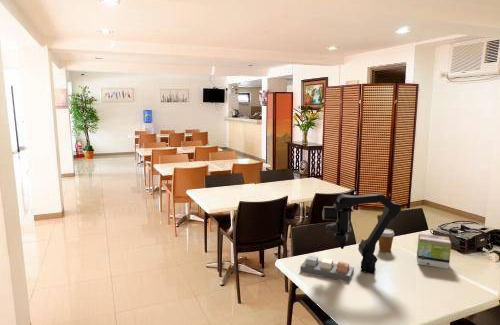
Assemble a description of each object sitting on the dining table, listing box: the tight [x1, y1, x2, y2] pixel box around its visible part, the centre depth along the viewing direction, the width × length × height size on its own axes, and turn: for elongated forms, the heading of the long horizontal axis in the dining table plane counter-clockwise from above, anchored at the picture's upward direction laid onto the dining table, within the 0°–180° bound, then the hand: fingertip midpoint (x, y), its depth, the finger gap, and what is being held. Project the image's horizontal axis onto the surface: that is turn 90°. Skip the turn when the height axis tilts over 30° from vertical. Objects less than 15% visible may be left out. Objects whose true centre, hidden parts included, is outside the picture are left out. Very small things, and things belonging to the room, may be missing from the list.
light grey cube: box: [305, 255, 319, 267], centre depth 184 cm, size 5×5×5 cm
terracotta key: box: [336, 260, 350, 273], centre depth 176 cm, size 5×5×5 cm
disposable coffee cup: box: [378, 228, 395, 253], centre depth 208 cm, size 10×10×12 cm
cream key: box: [320, 257, 334, 270], centre depth 180 cm, size 5×5×5 cm
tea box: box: [416, 233, 452, 270], centre depth 189 cm, size 15×10×15 cm
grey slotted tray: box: [299, 259, 355, 283], centre depth 180 cm, size 25×11×3 cm, turn 64°
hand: (342, 248), depth 181 cm, fingers closed
